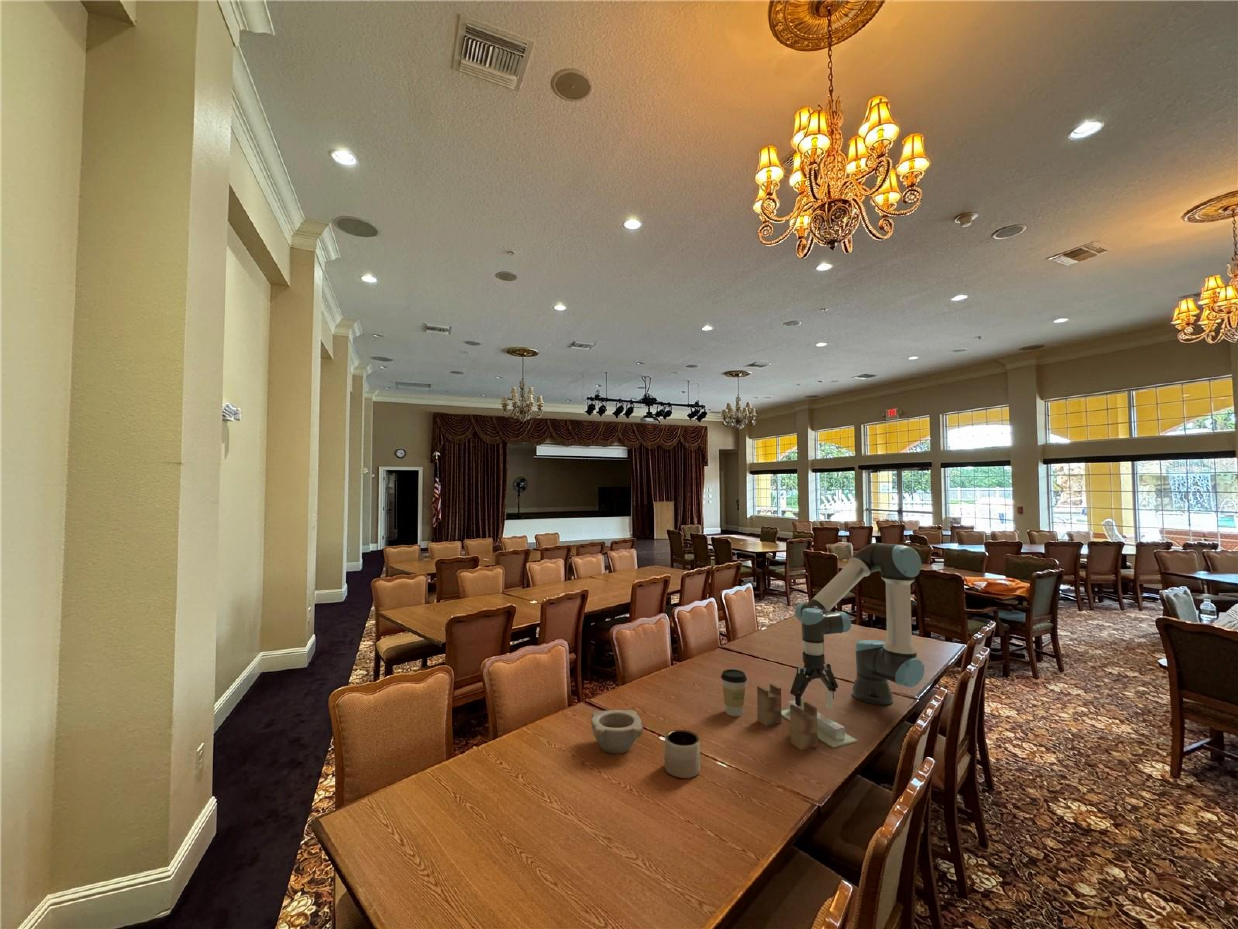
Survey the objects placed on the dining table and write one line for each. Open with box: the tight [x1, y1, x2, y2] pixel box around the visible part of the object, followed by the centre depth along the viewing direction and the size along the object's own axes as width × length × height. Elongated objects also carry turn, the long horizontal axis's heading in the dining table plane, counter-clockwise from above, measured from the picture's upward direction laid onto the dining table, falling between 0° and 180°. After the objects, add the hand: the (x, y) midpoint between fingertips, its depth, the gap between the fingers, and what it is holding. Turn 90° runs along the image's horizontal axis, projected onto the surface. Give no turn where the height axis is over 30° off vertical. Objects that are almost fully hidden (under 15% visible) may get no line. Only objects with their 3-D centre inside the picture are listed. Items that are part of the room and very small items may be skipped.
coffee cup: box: [720, 668, 748, 717], centre depth 189 cm, size 10×10×15 cm
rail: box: [787, 699, 846, 741], centre depth 178 cm, size 24×4×4 cm, turn 21°
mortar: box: [590, 709, 644, 755], centre depth 163 cm, size 17×17×9 cm
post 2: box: [789, 701, 819, 751], centre depth 165 cm, size 7×5×12 cm
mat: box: [781, 708, 858, 748], centre depth 178 cm, size 11×28×1 cm, turn 21°
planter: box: [664, 729, 701, 779], centre depth 150 cm, size 11×11×10 cm
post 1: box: [756, 683, 783, 727], centre depth 182 cm, size 7×5×12 cm
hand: (815, 711), depth 178 cm, fingers open, 13 cm apart
